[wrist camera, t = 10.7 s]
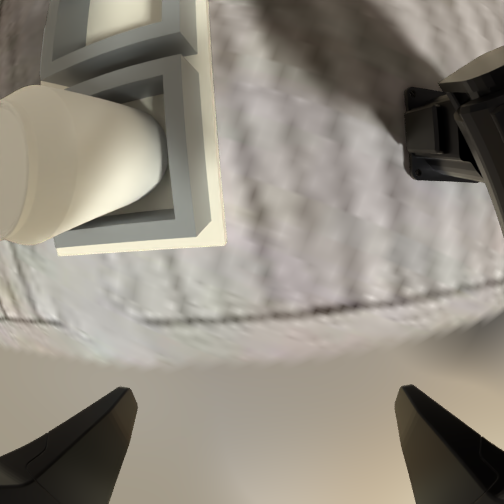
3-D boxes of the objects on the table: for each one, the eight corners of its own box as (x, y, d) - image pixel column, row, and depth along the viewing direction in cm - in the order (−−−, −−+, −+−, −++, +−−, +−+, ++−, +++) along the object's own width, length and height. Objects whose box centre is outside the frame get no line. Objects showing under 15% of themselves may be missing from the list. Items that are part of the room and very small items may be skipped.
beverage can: (89, 196, 19) (-45, 245, 8) (98, 110, 17) (-42, 94, 6) (167, 206, 19) (46, 277, 7) (180, 111, 17) (57, 64, 6)
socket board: (206, -54, 13) (192, -89, 8) (227, 241, 20) (213, 267, 16) (57, -2, 14) (25, -19, 10) (65, 252, 22) (27, 274, 17)
